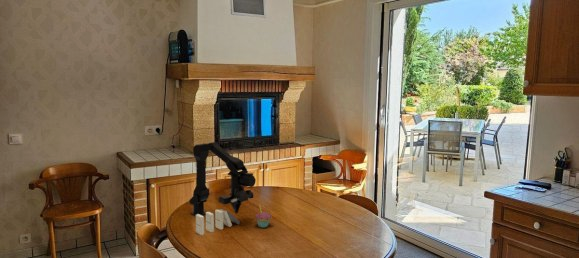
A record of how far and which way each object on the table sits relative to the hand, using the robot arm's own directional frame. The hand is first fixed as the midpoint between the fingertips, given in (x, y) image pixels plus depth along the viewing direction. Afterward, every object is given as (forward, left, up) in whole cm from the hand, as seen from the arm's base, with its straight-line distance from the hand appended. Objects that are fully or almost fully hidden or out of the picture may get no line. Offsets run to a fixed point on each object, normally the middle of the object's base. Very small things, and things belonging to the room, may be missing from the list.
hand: (236, 213), depth 208 cm
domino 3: (0, -11, -6) cm, 12 cm away
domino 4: (0, -5, -5) cm, 7 cm away
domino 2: (0, -16, -6) cm, 17 cm away
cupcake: (+12, +8, -6) cm, 16 cm away
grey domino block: (0, 0, -5) cm, 5 cm away
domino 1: (0, -22, -6) cm, 22 cm away
